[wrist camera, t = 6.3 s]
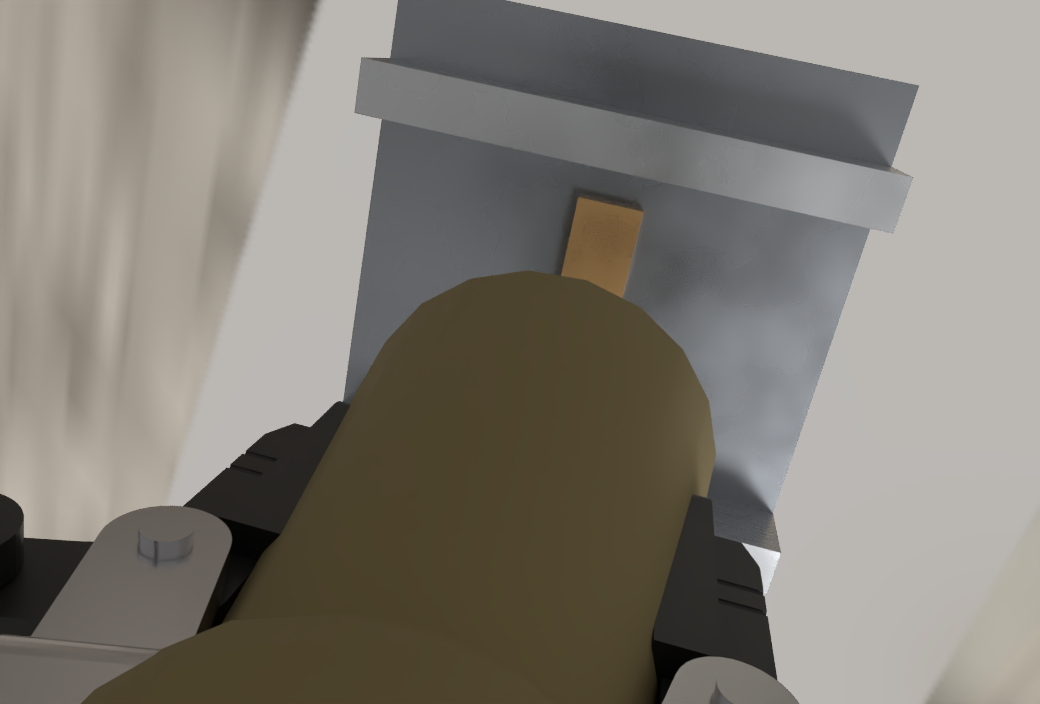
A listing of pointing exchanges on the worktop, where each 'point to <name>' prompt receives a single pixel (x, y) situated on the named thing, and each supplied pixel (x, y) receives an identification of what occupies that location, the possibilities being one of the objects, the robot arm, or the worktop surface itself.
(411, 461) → the cork
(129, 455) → the worktop surface
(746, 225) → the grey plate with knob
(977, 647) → the worktop surface
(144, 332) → the worktop surface
